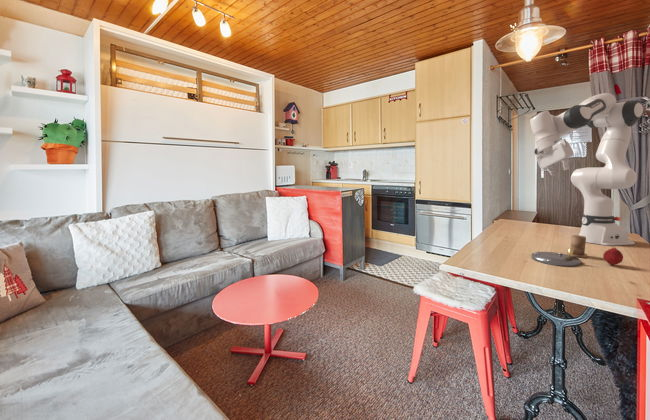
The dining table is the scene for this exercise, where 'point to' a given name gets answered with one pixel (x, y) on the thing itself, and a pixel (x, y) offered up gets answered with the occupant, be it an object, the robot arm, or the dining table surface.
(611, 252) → the onion
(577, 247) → the bushing
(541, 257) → the flange plate
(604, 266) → the dining table surface
